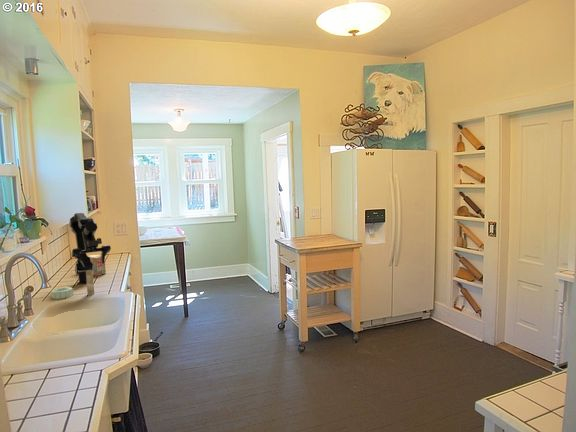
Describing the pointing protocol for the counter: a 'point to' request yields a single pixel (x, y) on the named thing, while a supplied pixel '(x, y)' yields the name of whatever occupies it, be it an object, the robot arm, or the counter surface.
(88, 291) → the peg
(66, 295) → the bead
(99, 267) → the beige printed box
